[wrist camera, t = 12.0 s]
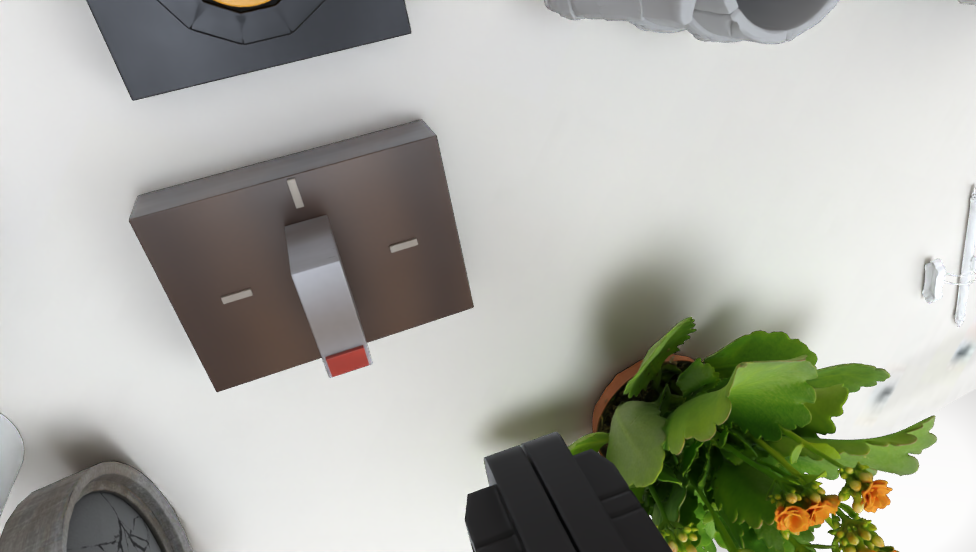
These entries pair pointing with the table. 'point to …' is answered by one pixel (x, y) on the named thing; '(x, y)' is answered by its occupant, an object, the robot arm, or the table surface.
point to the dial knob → (326, 296)
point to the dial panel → (264, 254)
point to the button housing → (232, 36)
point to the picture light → (938, 271)
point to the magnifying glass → (96, 515)
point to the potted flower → (747, 445)
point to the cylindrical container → (9, 458)
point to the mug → (706, 16)
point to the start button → (242, 2)
